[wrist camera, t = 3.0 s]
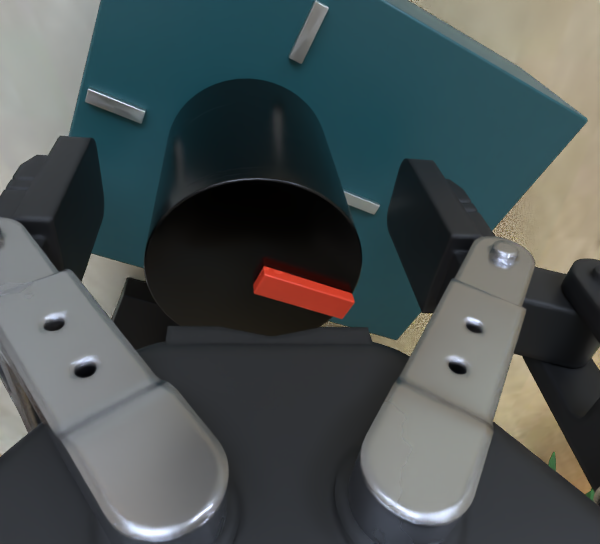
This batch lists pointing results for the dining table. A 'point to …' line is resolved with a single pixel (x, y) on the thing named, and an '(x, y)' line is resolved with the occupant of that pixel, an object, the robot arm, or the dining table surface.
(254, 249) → the knob
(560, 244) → the dining table surface
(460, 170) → the dial panel
